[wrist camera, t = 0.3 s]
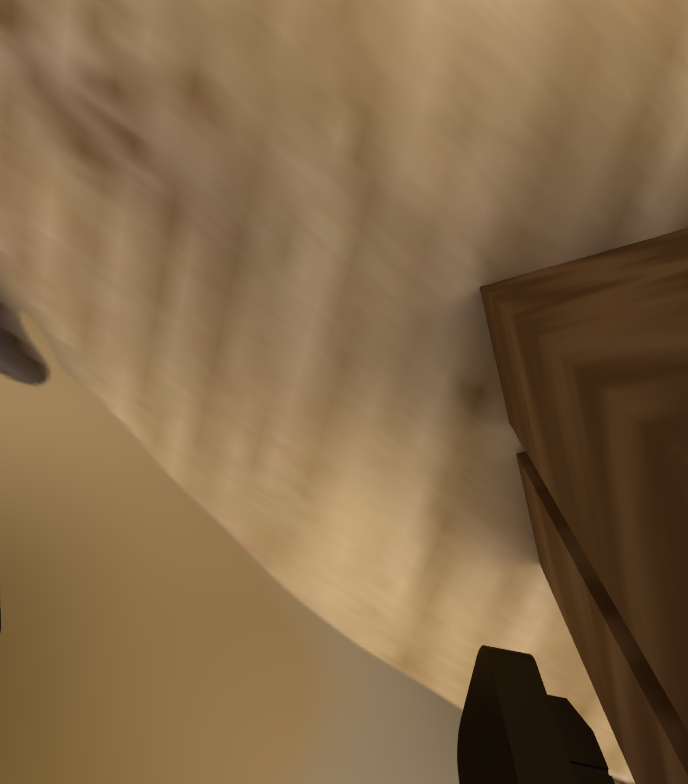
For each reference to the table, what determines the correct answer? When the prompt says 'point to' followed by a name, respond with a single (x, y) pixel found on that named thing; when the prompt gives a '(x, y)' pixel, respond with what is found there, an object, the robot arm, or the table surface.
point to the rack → (610, 473)
